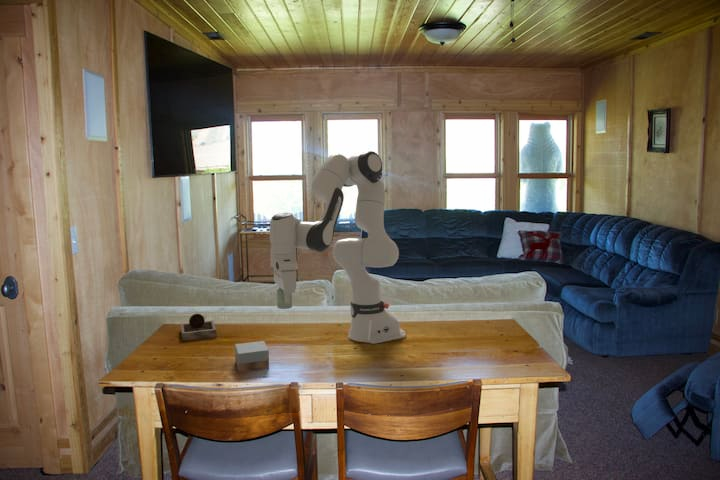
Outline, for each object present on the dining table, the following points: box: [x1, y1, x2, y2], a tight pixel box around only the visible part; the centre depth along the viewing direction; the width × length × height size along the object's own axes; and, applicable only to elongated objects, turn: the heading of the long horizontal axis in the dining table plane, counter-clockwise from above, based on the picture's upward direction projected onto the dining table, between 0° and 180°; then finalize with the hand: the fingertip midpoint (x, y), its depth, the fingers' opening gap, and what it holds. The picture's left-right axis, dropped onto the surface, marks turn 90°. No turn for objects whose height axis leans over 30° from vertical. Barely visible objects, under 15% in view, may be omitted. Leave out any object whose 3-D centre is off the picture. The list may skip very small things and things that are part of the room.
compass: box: [188, 313, 210, 331], centre depth 234 cm, size 8×8×7 cm
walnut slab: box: [234, 353, 270, 373], centre depth 198 cm, size 10×10×4 cm
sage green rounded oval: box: [276, 288, 293, 310], centre depth 199 cm, size 5×5×6 cm
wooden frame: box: [180, 320, 217, 341], centre depth 232 cm, size 13×13×3 cm
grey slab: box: [234, 340, 270, 364], centre depth 197 cm, size 10×10×4 cm
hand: (284, 300), depth 199 cm, fingers closed on sage green rounded oval, 5 cm apart
